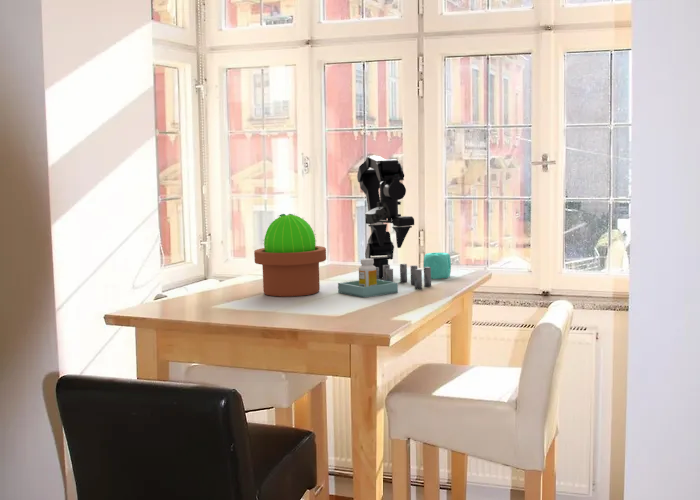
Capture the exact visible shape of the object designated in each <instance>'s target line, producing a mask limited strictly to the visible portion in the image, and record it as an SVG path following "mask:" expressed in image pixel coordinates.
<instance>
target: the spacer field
mask: <svg viewBox="0 0 700 500" xmlns="http://www.w3.org/2000/svg"><path fill="white" fill-rule="evenodd" d="M390 266H391V265H390V264H389V265H383V278H382V280H384V281H390V282H394V268H391V267H390ZM407 266H408V264H407V263H399V271H400V272H399V274H400V275H399V277H400V279H399V281H400V283H401V284H405V283H408V267H407ZM422 271H423V272H422ZM422 273H423V275H422ZM376 277H377V280H380V279H379V267H376ZM423 283H424V284H423ZM410 285H412V286H414V289H415V290H422V289H423V287H425V288H428V287H429V288H430V287H432V279H431V267H424V266H423V270H422V269H421V268H418V265H410ZM423 285H424V286H423Z"/></svg>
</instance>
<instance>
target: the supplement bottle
mask: <svg viewBox="0 0 700 500" xmlns="http://www.w3.org/2000/svg"><path fill="white" fill-rule="evenodd" d="M360 264H361V265H360V266H358V280H359V286H361V287H367V286H375V285H377V277H376V267H375V266H373V264H374V259H371V258H366V257H365V258H361V259H360Z"/></svg>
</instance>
